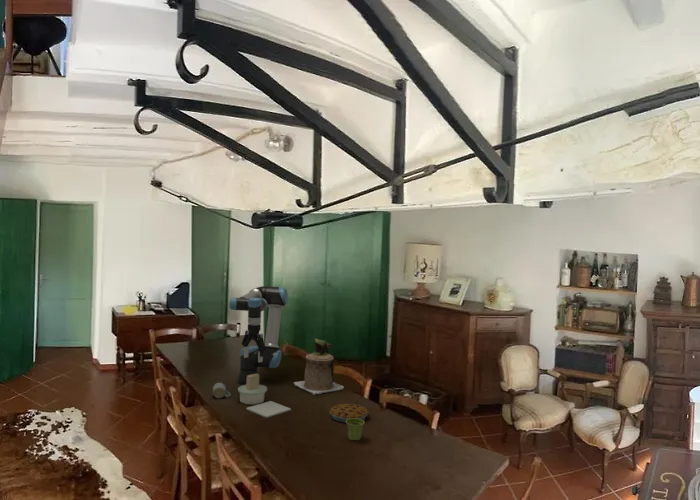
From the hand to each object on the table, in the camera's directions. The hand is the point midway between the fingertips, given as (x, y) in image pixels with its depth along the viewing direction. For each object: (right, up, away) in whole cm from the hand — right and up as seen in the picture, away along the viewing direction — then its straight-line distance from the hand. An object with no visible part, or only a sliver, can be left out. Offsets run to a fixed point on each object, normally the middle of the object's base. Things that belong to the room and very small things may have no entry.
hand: (253, 359), depth 324 cm
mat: (+11, -26, -13) cm, 31 cm away
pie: (+57, -29, -19) cm, 67 cm away
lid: (-1, -19, +1) cm, 19 cm away
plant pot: (+60, -30, -49) cm, 83 cm away
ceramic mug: (-20, -24, +6) cm, 32 cm away
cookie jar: (+37, -25, +31) cm, 55 cm away
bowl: (-1, -25, +1) cm, 25 cm away
